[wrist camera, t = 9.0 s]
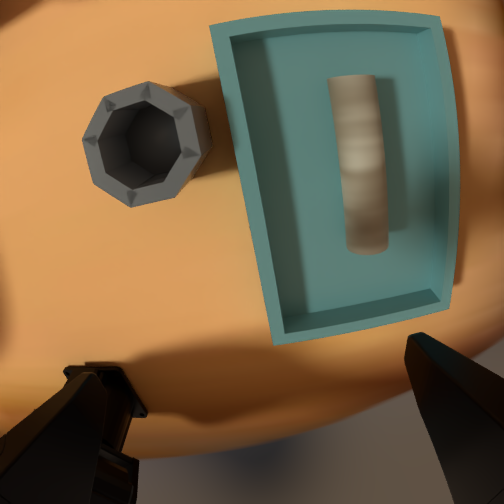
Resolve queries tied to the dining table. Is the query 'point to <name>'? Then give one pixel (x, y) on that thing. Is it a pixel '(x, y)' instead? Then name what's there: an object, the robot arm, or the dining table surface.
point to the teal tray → (328, 171)
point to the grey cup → (146, 143)
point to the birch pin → (361, 162)
